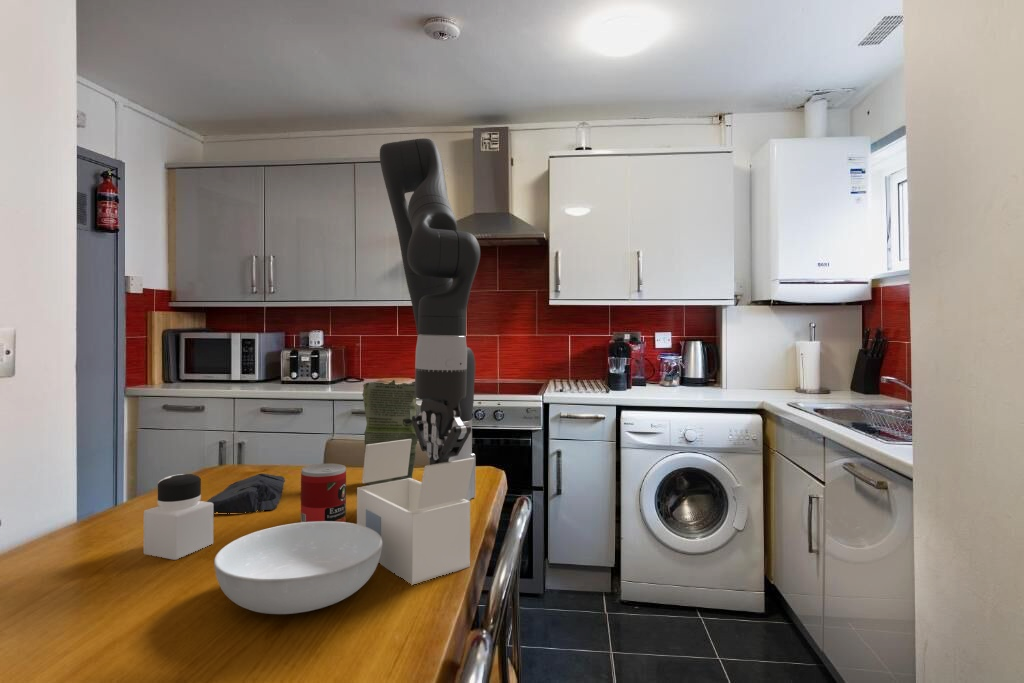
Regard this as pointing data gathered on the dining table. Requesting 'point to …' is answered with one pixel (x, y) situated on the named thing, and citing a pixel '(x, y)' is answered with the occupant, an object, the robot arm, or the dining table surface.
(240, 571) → the serving bowl
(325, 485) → the canned food
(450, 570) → the carton
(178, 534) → the medicine bottle
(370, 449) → the far flap
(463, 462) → the near flap
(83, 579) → the dining table surface
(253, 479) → the dark slate chunk
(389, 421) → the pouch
